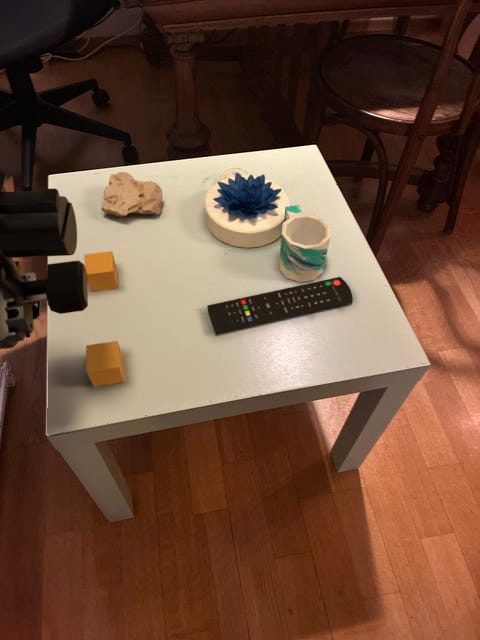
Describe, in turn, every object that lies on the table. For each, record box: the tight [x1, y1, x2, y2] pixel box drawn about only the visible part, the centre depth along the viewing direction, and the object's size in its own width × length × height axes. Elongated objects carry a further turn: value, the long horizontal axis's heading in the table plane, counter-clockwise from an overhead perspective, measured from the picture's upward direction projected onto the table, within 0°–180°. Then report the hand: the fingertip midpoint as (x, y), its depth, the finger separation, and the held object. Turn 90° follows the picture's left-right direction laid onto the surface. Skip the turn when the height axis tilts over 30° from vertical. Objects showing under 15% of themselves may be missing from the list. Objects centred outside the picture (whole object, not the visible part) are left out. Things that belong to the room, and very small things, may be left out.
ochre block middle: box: [84, 250, 119, 293], centre depth 81 cm, size 4×4×4 cm
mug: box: [278, 204, 331, 283], centre depth 84 cm, size 8×12×8 cm
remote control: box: [206, 276, 354, 335], centre depth 80 cm, size 5×24×1 cm, turn 106°
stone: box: [101, 171, 163, 218], centre depth 91 cm, size 9×11×5 cm
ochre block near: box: [85, 340, 125, 388], centre depth 71 cm, size 4×4×4 cm
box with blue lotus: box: [204, 166, 291, 249], centre depth 91 cm, size 7×16×20 cm
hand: (26, 335), depth 62 cm, fingers closed
